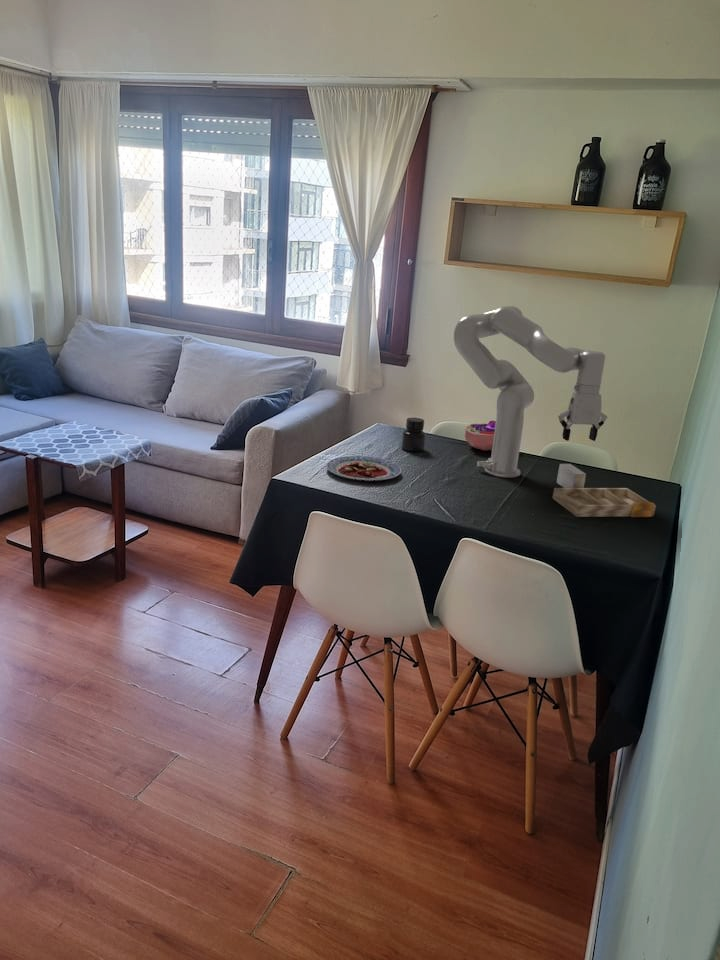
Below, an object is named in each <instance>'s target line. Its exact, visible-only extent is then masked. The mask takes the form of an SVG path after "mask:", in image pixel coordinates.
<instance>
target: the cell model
mask: <svg viewBox="0 0 720 960" xmlns="http://www.w3.org/2000/svg"><path fill="white" fill-rule="evenodd" d="M495 424H496V420H490V421H489V422H488V423H471V424H468V425H467V426H466V427H465V429H464V438H465V439H464V440H466V442H468V444H469V445H470V446H471V447H473V448H474V449H477V450H481V451H485V452H486V451H492V447H493V440H494V432H495Z"/></svg>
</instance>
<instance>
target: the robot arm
mask: <svg viewBox="0 0 720 960" xmlns="http://www.w3.org/2000/svg"><path fill="white" fill-rule="evenodd" d="M542 328H543V327H541V326H540V325H539V324H537V323H535V322H534V321H533V320H531V319H529V318H527V317H526V316H524V315H523V313H522V311H521V310H520V309H519V308H518V307H516V306H514V305H506V306H505V305H504V306H500V307H498V308H497V309H495V310H491V311H488V312H482V313H477V314H476V313H475V314H468V315H465V316H463V317H461V318H460V319H459V320H458V321H457V323H456V326H455V328H454V331H453V343H454V346H455V349H456V350H457V351H458V353H459V354H460V356H461V357H462V358H463V360H464V361H465V362H466V363H467V364H468V365H469V368H471V370H472V371H473V372H474V374H475V375H476V376H477V377H478V379H479V380H480V381H481V382H482V383H483V385H484V386H485V387H487V388H488V389H492V390H493V389H494V390H496V389H499V390H500V392H499V394H498V396H497V399H496V417H495V418H496V419H495V421H496V424H495V432H494V440H493V447H492V450H491V456H490V457H488V458H487V459H486V460H478V461H477V462H476V466H477V467H483V468H484V470H485V471H484V472H485V473H487V474H489V475H492V476H495V477H499V478H508V479H509V478H511V479H512V478H517V477H519V476H520V475H521V470H520V469H519V468H518V463H519V462H518V461H519V456H520V450H521V442H522V436H523V430H524V422H525V421H524V420H525V419H524V414H525V409H526V408H528V407H530V406H531V405H532V404H533V403H534V400H535V391H534V389H533V387H532V385H530V383H529V382H528V381H527V379H526V378H525V377H524V376H523V374H521V373H520V371H519V370H518V368H517V367H516V366H515V365H514V364H513V363H512V362H510V361H508V360H506V359H497V357H495V356H494V355H493V353H492V352H491V351H490V350H489V349H488V347H487V346H486V345H485V344H483V343H482V342H481V340H480V339H483V338H487V337H491V336H496V335H499V334H502V335H504V336H505V337H507V338H508V339H510V340H512V341H513V342H514V343H516V344H518V345H520V346H521V347H523V348H524V349H526V351H527V352H528V353H529V354H531V355H532V357H534V358H535V359H537V360H538V361H539V362H540V363H542V364H543V365H545V366H547V367H549V368H551V369H552V370H554V371H555V372H557V373H561V374H565V373H569V372H571V371H576V370H577V376H576V377H577V378H576V383H575V385H572V390H573V393H572V394H571V398H570V400H569V403H568V408H567V410H565V411H564V412H563V411H562V412H561V413H559V414H558V415H557V417H558V420H559V423H560V424H561V426H562V428H563V430H562V436H561V437H562V439H563V440H565V441H566V442H569V440H570V437H571V427H572V426H573V425H589V426H590V425H591V427H590V430H589V435H588V439H590V440H591V441H593V442H595V441H596V440H597V437H598V430H600V428H601V427H602V426H603V425H604V423H605V422H606V420H607V419H608V415H606V414H604V413H603V412H602V394H600V391H601V383H602V379H603V378H602V377H603V372H604V367H605V362H606V354H605V353H604V352H602V351H598V350H586V349H585V350H584V349H581V348H578V347H577V348H576V347H572V346H571V347H569V346H568V347H562V346H560V345H559V344H558V343H556V342H555V341H553V340H551V339H550V338H549V337H548V336H547V335H546V334H545V332H544V329H542ZM565 418H566V421H565Z"/></svg>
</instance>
